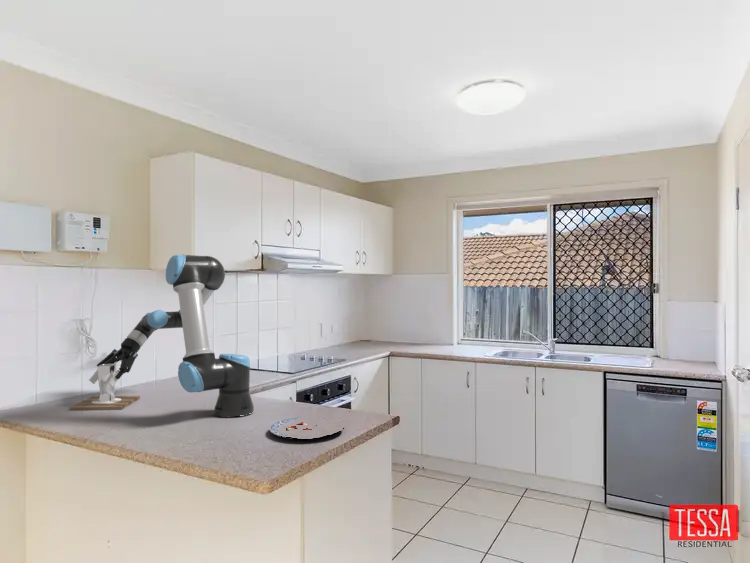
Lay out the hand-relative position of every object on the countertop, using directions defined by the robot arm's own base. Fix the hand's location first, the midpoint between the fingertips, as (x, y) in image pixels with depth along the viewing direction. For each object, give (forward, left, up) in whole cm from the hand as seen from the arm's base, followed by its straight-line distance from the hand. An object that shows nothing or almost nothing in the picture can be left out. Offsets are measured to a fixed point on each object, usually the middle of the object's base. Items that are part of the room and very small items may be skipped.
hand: (100, 383), depth 210 cm
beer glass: (+2, -2, -8) cm, 8 cm away
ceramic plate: (-44, -87, -10) cm, 98 cm away
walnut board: (+2, -1, -9) cm, 10 cm away
